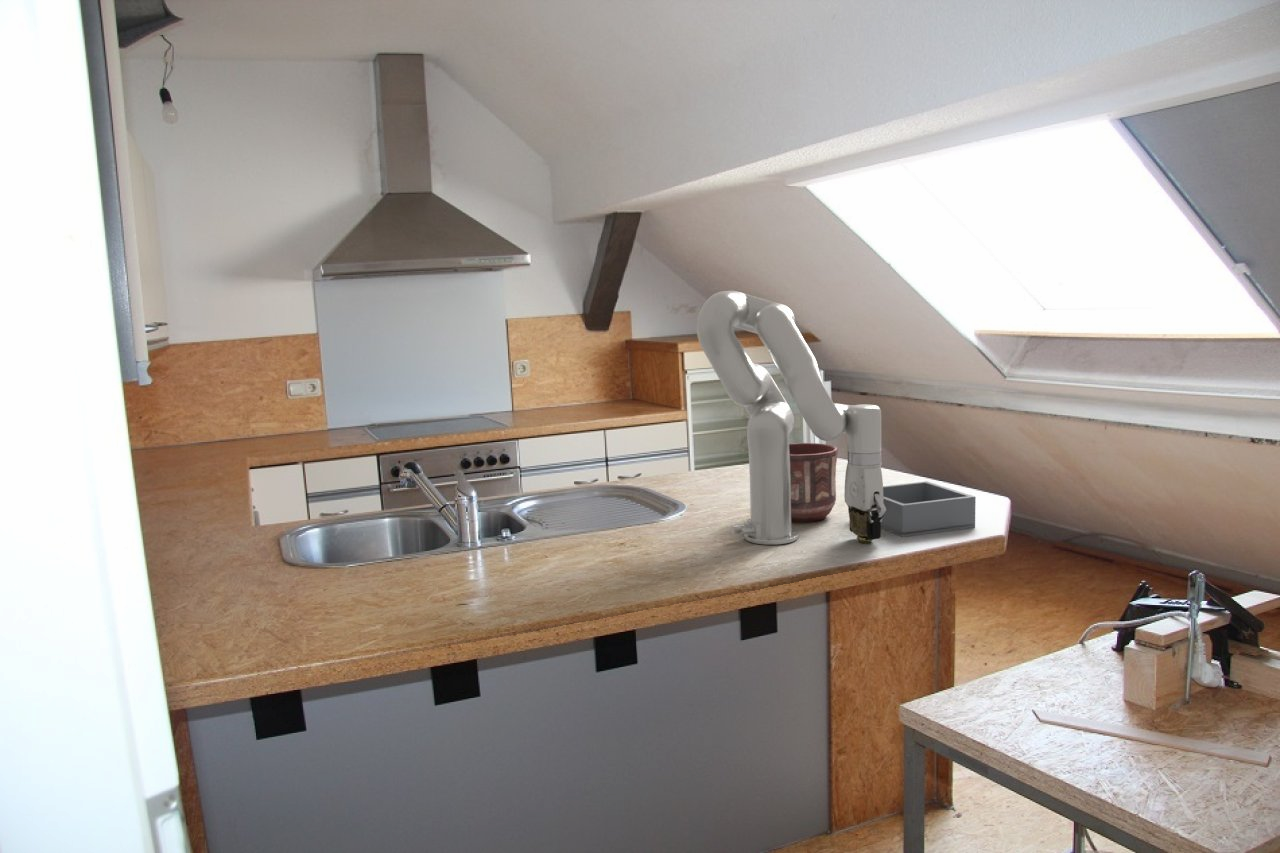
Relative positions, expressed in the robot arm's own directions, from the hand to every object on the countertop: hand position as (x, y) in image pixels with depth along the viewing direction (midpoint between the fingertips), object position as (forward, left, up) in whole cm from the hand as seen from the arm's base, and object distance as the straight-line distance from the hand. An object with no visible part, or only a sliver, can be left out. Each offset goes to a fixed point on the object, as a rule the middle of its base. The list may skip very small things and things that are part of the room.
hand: (865, 534), depth 222 cm
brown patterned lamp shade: (0, 0, -2) cm, 2 cm away
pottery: (-2, +27, -2) cm, 27 cm away
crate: (+20, +10, -2) cm, 22 cm away
